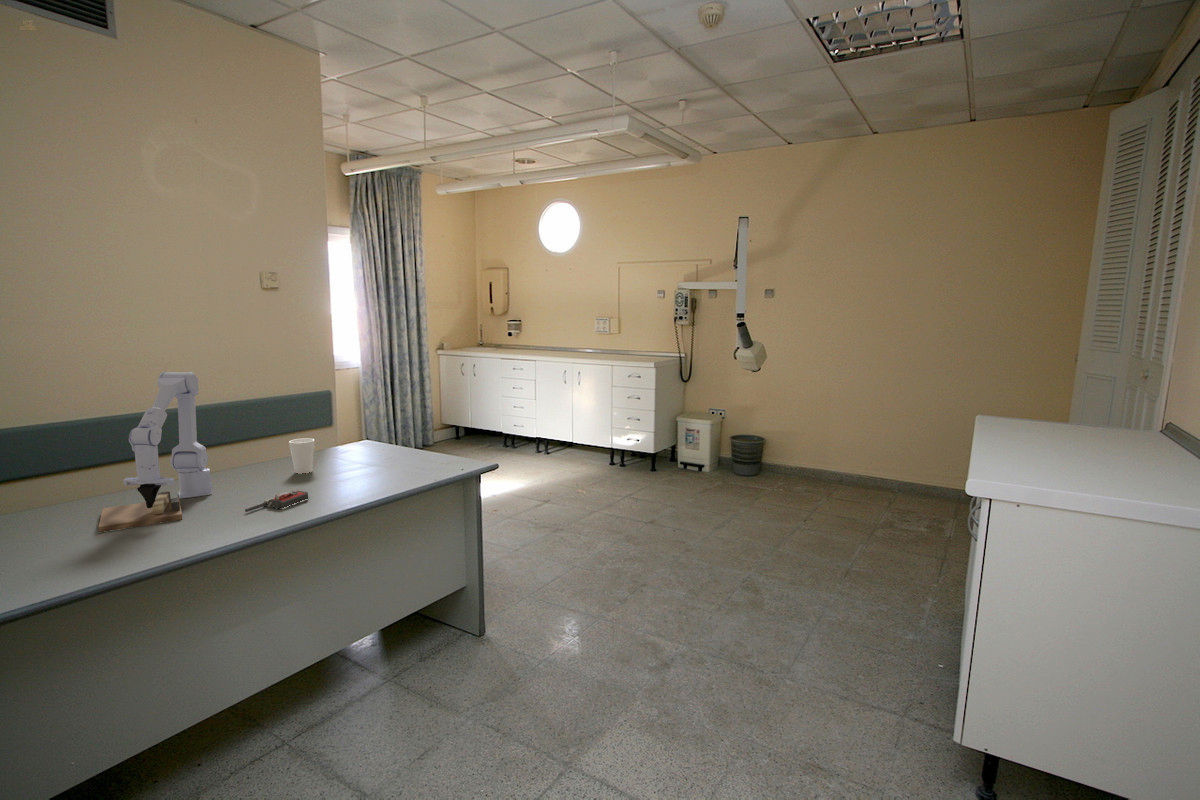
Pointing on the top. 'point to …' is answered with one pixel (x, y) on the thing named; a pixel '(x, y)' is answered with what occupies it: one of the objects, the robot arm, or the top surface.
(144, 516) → the stool seat
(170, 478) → the robot arm
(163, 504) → the folding leg
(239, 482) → the top surface
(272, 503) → the walkie-talkie
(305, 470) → the foam cup
